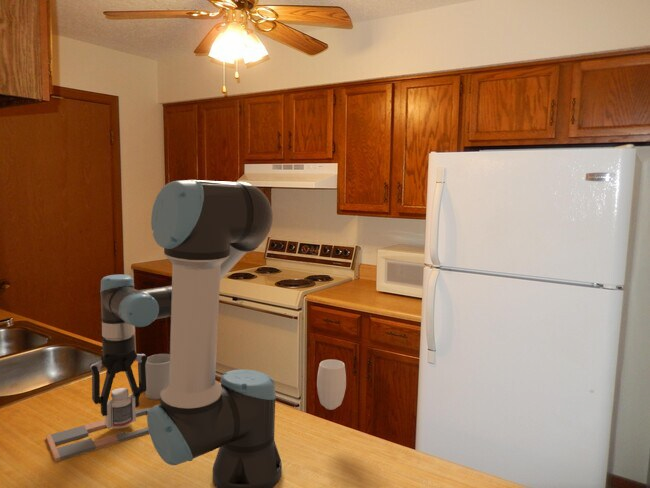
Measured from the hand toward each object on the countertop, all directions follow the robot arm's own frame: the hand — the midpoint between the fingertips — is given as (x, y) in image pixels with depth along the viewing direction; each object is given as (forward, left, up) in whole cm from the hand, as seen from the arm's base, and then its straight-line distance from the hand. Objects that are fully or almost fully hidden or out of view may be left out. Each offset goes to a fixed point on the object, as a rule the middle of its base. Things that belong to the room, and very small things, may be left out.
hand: (120, 422), depth 120 cm
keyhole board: (0, +3, -2) cm, 4 cm away
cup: (-37, -40, -2) cm, 54 cm away
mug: (+16, -15, -2) cm, 22 cm away
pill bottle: (0, 0, -1) cm, 1 cm away
